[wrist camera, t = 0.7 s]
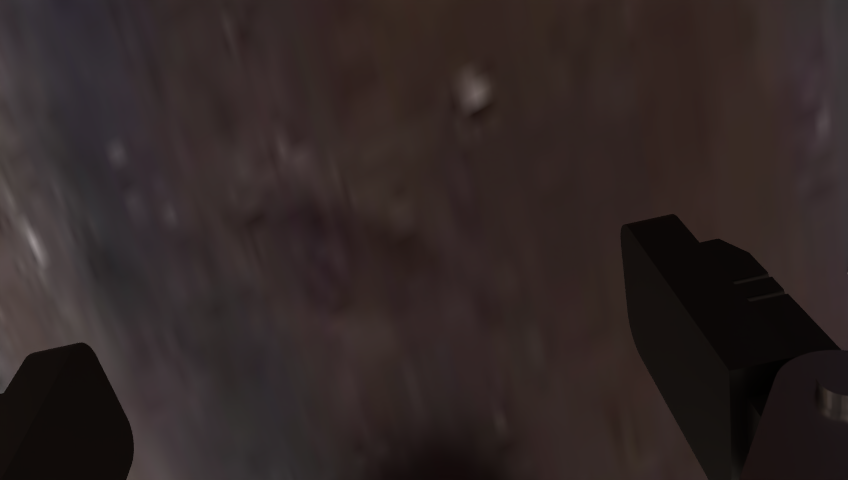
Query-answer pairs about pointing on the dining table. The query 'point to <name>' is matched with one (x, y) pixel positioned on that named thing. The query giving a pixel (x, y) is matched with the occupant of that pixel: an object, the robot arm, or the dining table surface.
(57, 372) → the robot arm
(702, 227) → the dining table surface
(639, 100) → the dining table surface
